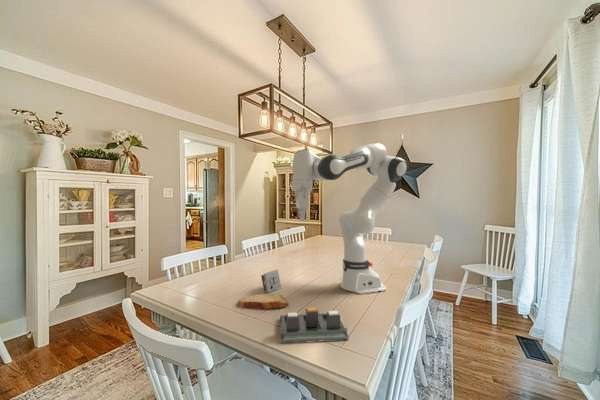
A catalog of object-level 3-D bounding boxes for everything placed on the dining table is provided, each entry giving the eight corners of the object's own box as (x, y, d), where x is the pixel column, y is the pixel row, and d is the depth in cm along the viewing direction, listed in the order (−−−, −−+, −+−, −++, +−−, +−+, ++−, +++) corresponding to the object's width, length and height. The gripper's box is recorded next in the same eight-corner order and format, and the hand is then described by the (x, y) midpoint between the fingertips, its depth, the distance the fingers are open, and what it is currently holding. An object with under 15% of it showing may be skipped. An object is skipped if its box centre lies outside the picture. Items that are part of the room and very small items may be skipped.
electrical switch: (268, 293, 115) (266, 274, 115) (260, 292, 118) (259, 273, 119) (281, 288, 122) (280, 269, 123) (274, 286, 126) (273, 268, 126)
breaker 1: (298, 327, 83) (298, 311, 83) (298, 332, 80) (299, 315, 80) (286, 328, 82) (286, 312, 82) (286, 332, 80) (286, 316, 80)
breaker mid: (316, 322, 87) (316, 307, 86) (318, 326, 84) (318, 310, 84) (305, 322, 86) (305, 307, 86) (306, 327, 83) (306, 311, 83)
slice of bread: (233, 304, 104) (233, 296, 104) (267, 293, 117) (267, 285, 117) (257, 320, 91) (257, 310, 91) (292, 305, 104) (292, 296, 104)
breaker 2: (337, 325, 84) (338, 310, 84) (340, 330, 81) (340, 314, 81) (326, 326, 84) (326, 310, 84) (328, 330, 81) (328, 314, 81)
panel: (336, 316, 94) (336, 310, 94) (348, 339, 79) (348, 332, 79) (280, 319, 91) (280, 313, 91) (280, 343, 76) (280, 335, 76)
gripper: (312, 186, 93) (312, 221, 94) (306, 188, 114) (306, 217, 114) (296, 185, 93) (295, 221, 93) (293, 187, 113) (292, 217, 113)
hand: (301, 219), depth 104 cm, fingers open, 8 cm apart
